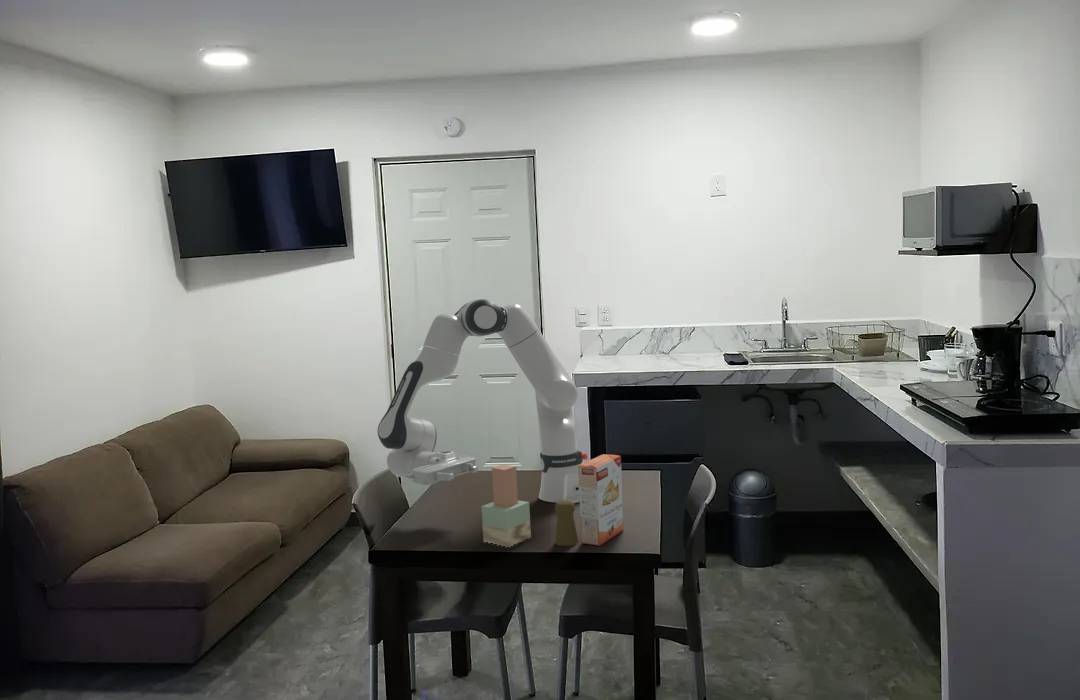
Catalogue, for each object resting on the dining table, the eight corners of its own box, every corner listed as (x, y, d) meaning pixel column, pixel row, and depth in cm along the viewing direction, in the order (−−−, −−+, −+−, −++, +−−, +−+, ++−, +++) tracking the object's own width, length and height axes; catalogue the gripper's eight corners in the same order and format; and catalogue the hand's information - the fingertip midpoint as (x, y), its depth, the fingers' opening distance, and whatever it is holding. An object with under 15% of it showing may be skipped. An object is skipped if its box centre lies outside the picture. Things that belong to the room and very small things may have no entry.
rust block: (506, 500, 227) (503, 464, 226) (518, 503, 224) (516, 466, 223) (494, 504, 223) (491, 467, 222) (506, 507, 220) (504, 469, 219)
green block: (505, 515, 230) (504, 497, 230) (530, 520, 224) (529, 502, 224) (482, 524, 223) (481, 506, 223) (507, 529, 218) (506, 511, 217)
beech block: (506, 533, 231) (505, 515, 230) (531, 538, 225) (530, 520, 225) (483, 542, 224) (482, 524, 224) (508, 548, 218) (507, 529, 218)
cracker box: (601, 547, 215) (597, 466, 213) (580, 544, 218) (576, 465, 216) (625, 530, 227) (621, 454, 224) (605, 528, 230) (601, 453, 228)
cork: (554, 539, 223) (551, 499, 222) (576, 537, 223) (574, 497, 222) (556, 547, 217) (554, 505, 216) (579, 545, 217) (577, 503, 216)
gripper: (401, 464, 234) (435, 470, 225) (455, 449, 250) (488, 454, 241) (403, 486, 235) (436, 493, 226) (456, 470, 250) (489, 476, 241)
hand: (463, 473), depth 233 cm, fingers open, 8 cm apart
